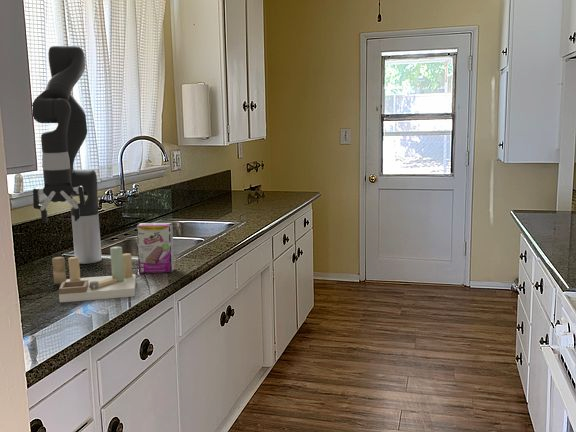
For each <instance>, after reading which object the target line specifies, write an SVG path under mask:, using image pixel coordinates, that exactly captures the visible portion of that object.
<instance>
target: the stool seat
mask: <svg viewBox="0 0 576 432" xmlns="http://www.w3.org/2000/svg"><path fill="white" fill-rule="evenodd" d="M122 256H123V272H124V280H123V281H118V282H114V283H111V284H108V285H105V286H102V287H99V288H96V289H91V288H89V285H90V282H92V281H98V282H99V281H102V280H106V279H109V278H112V275H106V276H105V275H104V276H92V277H81V269H80V263H79V257H75V256H70V257H68V271H69V278H66V281H65V282H62V284H60V286H59V288H58V297H59V303H70V302H81V301H82V302H83V301H84V302H85V301H92V300H93V301H95V300H104V299H105V300H106V299H117V298H118V299H119V298H127V297H128V298H129V297H136V285H137V277H136V273H133V259H132V257H133V256H132V254H131V253H122Z"/></svg>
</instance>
